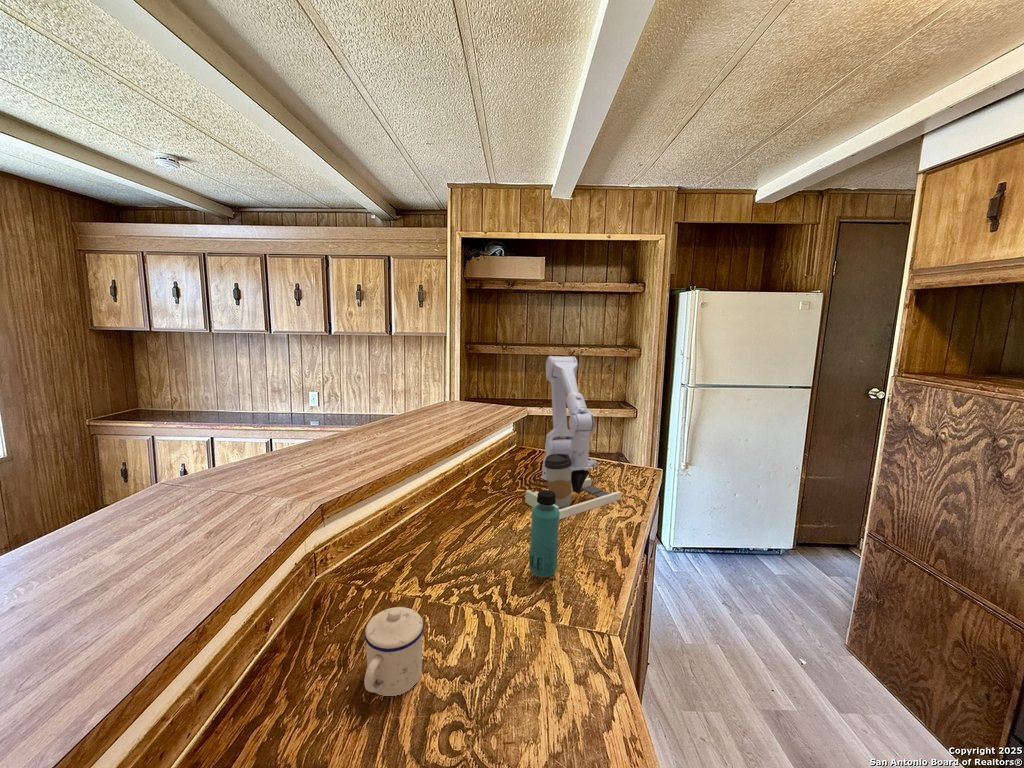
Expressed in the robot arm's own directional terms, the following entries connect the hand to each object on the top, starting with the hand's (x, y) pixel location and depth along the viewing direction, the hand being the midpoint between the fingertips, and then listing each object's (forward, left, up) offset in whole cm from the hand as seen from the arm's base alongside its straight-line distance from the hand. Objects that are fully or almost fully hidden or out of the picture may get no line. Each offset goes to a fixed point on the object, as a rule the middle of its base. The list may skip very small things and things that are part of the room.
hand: (576, 491), depth 140 cm
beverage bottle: (+25, -35, -3) cm, 43 cm away
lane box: (0, -1, -3) cm, 3 cm away
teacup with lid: (+34, -74, -3) cm, 81 cm away
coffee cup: (0, -7, -3) cm, 7 cm away
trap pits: (0, +10, -3) cm, 11 cm away
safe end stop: (0, -15, -3) cm, 15 cm away
